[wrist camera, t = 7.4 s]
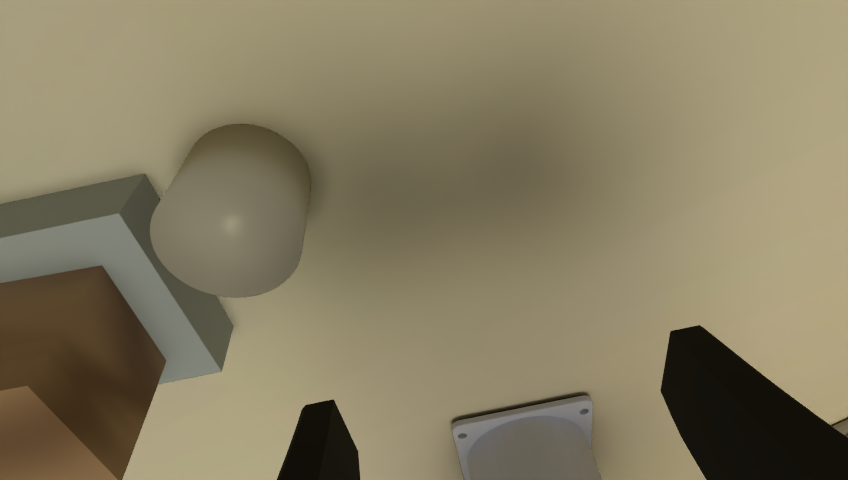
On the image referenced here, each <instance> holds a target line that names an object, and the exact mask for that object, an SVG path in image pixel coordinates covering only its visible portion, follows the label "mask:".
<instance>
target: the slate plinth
mask: <svg viewBox="0 0 848 480" xmlns="http://www.w3.org/2000/svg"><path fill="white" fill-rule="evenodd" d="M159 202H160V198H159V197H158V195H157V193H156V192H155V190H154V188H153V186H152V185H151V183H150V181H149V179H148V178H147V176H146V174H141V175H136V176H132V177H127V178H122V179H117V180H113V181H108V182H103V183H99V184H94V185H89V186H84V187H80V188H75V189H70V190H65V191H61V192H56V193H51V194H46V195H42V196H37V197H32V198H28V199H23V200H18V201H13V202H9V203H4V204H0V283H4V282H10V281H16V280H21V279H27V278H33V277H38V276H44V275H50V274H55V273H61V272H67V271H72V270H78V269H84V268H89V267H95V266H101V265H102V266H103V267H104V269H105V270H106V272H107V273H108V275H109V276H110V278H111V279H112V281H113V282H114V284H115V285H116V287H117V288H118V289H119V291H120V292H121V294H122V295H123V297H124V298H125V300H126V301H127V303H128V304H129V306H130V307H131V309H132V310H133V312H134V313H135V315H136V316H137V318H138V319H139V321H140V322H141V324H142V325H143V326H144V328H145V329H146V331H147V332H148V334H149V335H150V337H151V338H152V340H153V341H154V343H155V344H156V346H157V347H158V349H159V350H160V352H161V353H162V355H163V356H164V358H165V359H166V364H165V367H164V369H163V372H162V375H161V377H160V380H159V383H158V384H163V383H168V382H173V381H178V380H183V379H188V378H193V377H198V376H203V375H207V374H212V373H217V372H222V368H223V365H224V361H225V357H226V353H227V349H228V345H229V341H230V338H231V334H232V330H233V324H232V323H231V321H230V319H229V318H228V316H227V314H226V312H225V311H224V309H223V307H222V305H221V304H220V302H219V300H218V299H217V297H216V295H212V294H208V293H205V292H202V291H199V290H197V289H195V288H193V287H190V286H189V285H187V284H185V283H184V282H182V281H180V280H179V279H178V278H176V277H175V276H174V275H173V274H172V273H171V272H169V271H168V270H167V269H166V267H165V266H164V265H163V264H162V263H161V261H160V260H159V258H158V257H157V255H156V253H155V251H154V249H153V245H152V242H151V237H150V223H151V218H152V215H153V213H154V210H155V209H156V207H157V205H158V204H159Z"/></svg>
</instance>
